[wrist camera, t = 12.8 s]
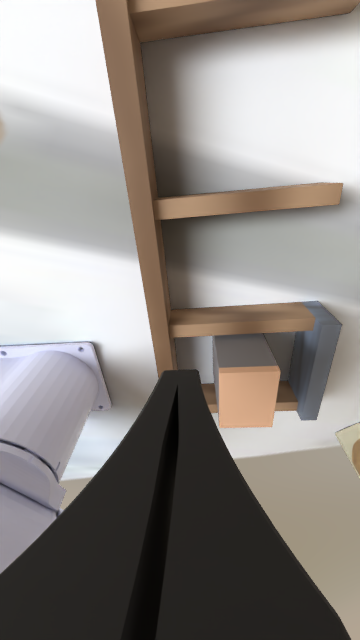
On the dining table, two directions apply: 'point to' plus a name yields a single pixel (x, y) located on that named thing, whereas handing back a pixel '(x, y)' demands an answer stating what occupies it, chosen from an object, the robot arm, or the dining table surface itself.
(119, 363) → the dining table surface
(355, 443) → the skincare box
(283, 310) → the divider rack
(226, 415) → the tan box
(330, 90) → the dining table surface
